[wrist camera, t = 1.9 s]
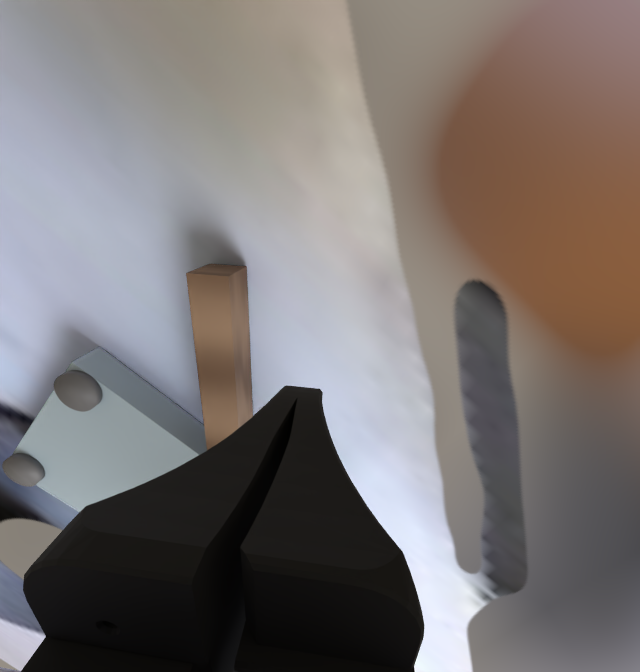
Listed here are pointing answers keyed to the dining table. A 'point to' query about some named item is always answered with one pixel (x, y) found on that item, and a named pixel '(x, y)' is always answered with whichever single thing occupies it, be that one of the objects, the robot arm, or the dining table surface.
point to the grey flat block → (103, 434)
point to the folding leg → (221, 347)
